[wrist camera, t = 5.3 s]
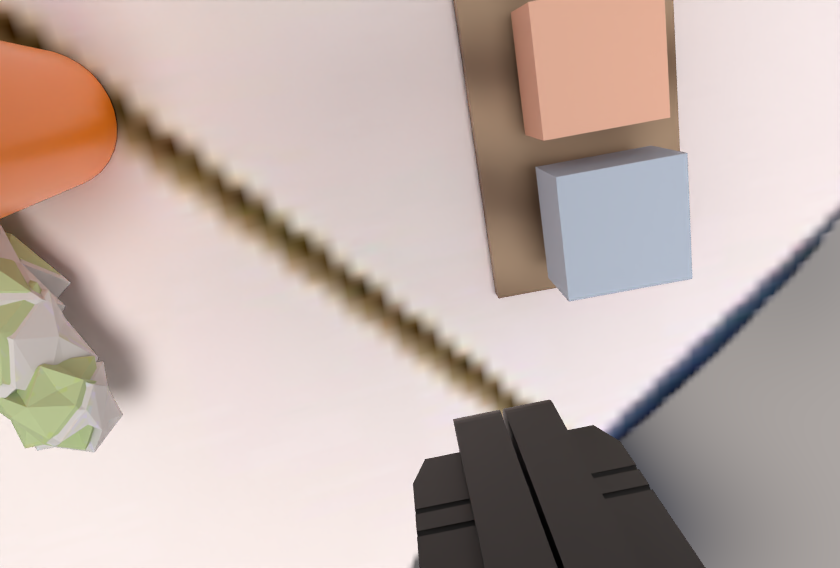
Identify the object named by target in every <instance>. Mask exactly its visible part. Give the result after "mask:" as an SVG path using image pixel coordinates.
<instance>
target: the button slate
mask: <svg viewBox="0 0 840 568" xmlns="http://www.w3.org/2000/svg"><path fill="white" fill-rule="evenodd" d="M535 168H536V177H537V185H538V194H539V202H540V211H541V220H542V228H543V237H544V246H545V254H546V263H547V271H548V278H549V279H550V280H551V281H552V283H553V284H554V285H555V286H556V287H557V288H558V289H559V291H560V292H561V293H562V294H563V295H564V296H565V297H566V299H567V300H568V301H574V300H579V299H585V298H590V297H596V296H601V295H607V294H612V293H617V292H623V291H628V290H634V289H639V288H644V287H650V286H655V285H661V284H666V283H672V282H677V281H682V280H688V279H692V258H691V233H690V208H689V183H688V158H687V153H685V152H680V151H675V150H670V149H666V148H661V147H656V146H646V147H641V148H635V149H630V150H624V151H619V152H613V153H608V154H603V155H597V156H592V157H586V158H581V159H575V160H570V161H565V162H559V163H554V164H548V165H543V166H537V167H535Z"/></svg>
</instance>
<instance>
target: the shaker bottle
mask: <svg viewBox="0 0 840 568" xmlns="http://www.w3.org/2000/svg"><path fill="white" fill-rule="evenodd" d="M116 139H117V123H116V117H115V112H114V109H113V106H112V104H111V101H110V98H109V97H108V95H107V93H106V92H105V90H104V88H103V87H102V85H101V84H100V83H99V82H98V81H97V79H96V78H95V77H94V76H93V75H92V74H91V73H90V72H89V71H88V70H86V69H85V68H84V67H83V66H82V65H80V64H79V63H77V62H75V61H74V60H72V59H70V58H68V57H66V56H64V55H61V54H58V53H55V52H52V51H47V50H43V49H38V48H33V47H28V46H23V45H19V44H14V43H9V42H4V41H0V219H1V218H3V217H6V216H8V215H10V214H13V213H15V212H17V211H20V210H22V209H25V208H27V207H29V206H32V205H34V204H36V203H39V202H41V201H43V200H46V199H48V198H50V197H53V196H55V195H57V194H60V193H62V192H64V191H67V190H69V189H71V188H74V187H76V186H78V185H81V184H83V183H85V182H87V181H89V180H91V179H92V178H94V177H95V176H96V175H97V174H99V173H100V172H101V171H102V170H103V168H104V167H105V166H106V164H107V163H108V162H109V160H110V158H111V156H112V153H113V151H114V148H115V143H116Z"/></svg>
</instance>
